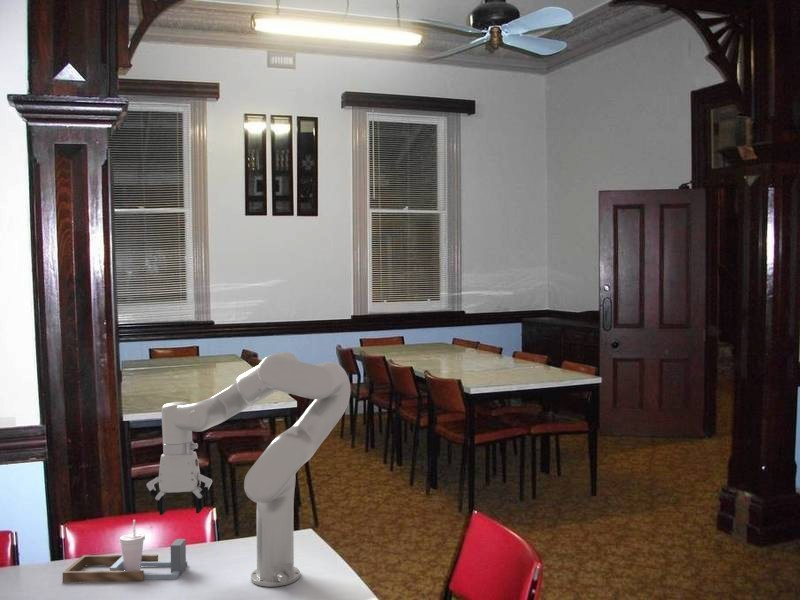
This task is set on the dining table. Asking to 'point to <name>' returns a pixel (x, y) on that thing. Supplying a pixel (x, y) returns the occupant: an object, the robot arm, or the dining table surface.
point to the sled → (163, 562)
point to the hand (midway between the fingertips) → (180, 512)
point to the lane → (103, 576)
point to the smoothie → (132, 549)
